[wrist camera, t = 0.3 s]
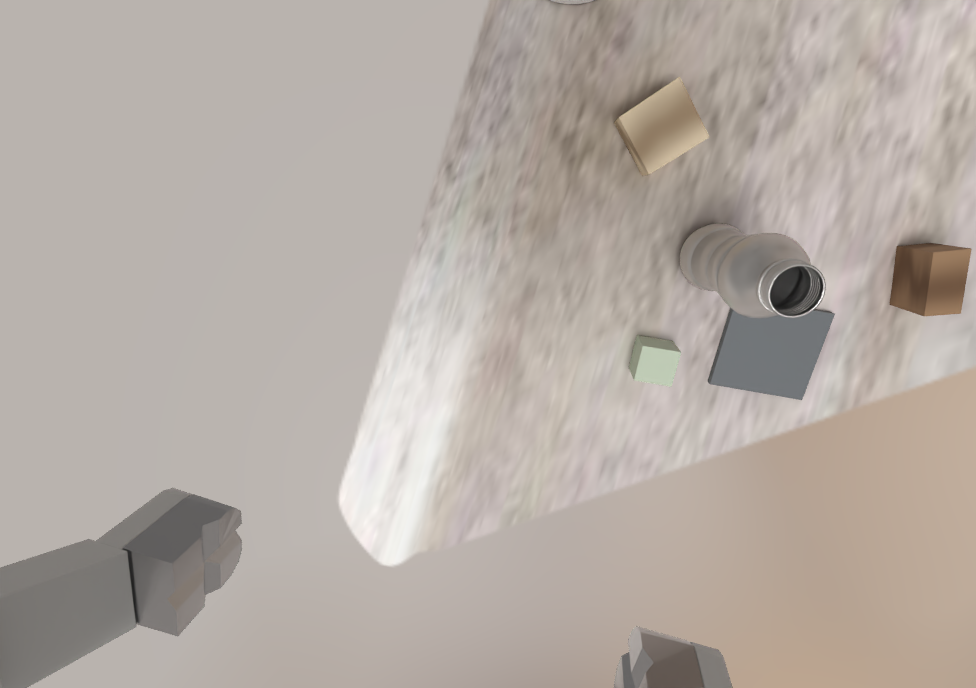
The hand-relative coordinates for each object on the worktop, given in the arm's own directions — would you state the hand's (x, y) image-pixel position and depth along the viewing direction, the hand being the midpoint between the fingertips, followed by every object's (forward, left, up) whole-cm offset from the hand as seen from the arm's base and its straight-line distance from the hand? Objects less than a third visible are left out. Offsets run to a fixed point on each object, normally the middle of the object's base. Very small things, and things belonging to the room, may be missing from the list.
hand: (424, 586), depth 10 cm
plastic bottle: (-4, +18, -47) cm, 50 cm away
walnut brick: (-5, +38, -47) cm, 60 cm away
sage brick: (+8, +15, -47) cm, 50 cm away
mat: (+5, +27, -46) cm, 54 cm away
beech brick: (-15, +10, -47) cm, 50 cm away
